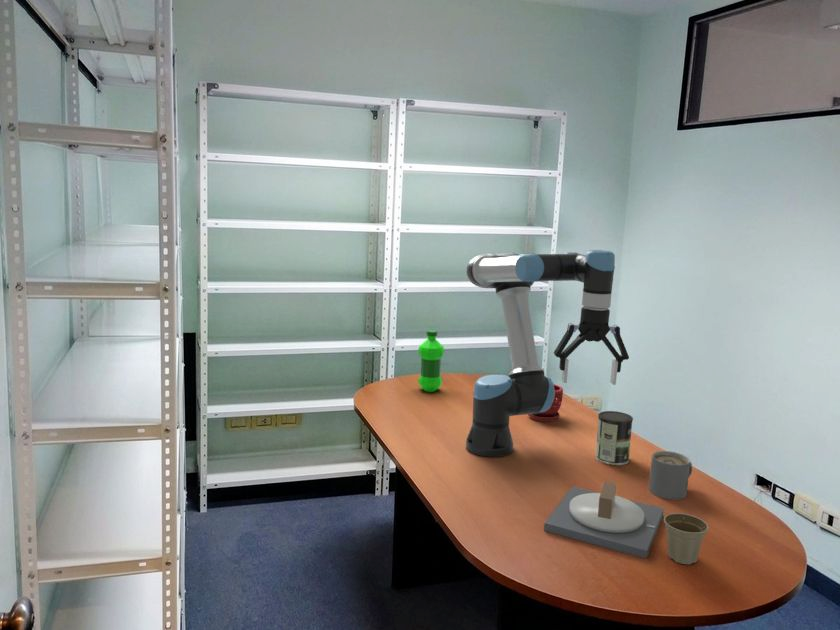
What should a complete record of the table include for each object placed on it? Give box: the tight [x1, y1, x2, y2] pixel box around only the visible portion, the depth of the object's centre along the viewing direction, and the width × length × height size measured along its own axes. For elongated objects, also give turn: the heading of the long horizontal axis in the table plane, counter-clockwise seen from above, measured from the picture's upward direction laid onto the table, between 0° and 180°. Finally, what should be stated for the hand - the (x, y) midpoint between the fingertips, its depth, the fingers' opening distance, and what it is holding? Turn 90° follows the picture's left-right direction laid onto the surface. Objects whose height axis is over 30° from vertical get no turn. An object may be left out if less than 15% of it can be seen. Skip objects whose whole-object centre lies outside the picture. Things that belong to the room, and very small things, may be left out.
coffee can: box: [594, 410, 634, 466], centre depth 204 cm, size 10×10×14 cm
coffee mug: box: [648, 450, 693, 500], centre depth 183 cm, size 13×10×10 cm
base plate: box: [543, 486, 665, 560], centre depth 164 cm, size 24×24×2 cm
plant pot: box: [527, 383, 564, 423], centre depth 241 cm, size 13×13×12 cm
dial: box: [569, 481, 644, 533], centre depth 163 cm, size 18×18×6 cm
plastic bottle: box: [417, 329, 445, 393], centre depth 270 cm, size 10×10×25 cm
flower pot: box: [663, 512, 709, 565], centre depth 149 cm, size 9×9×9 cm
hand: (588, 382), depth 182 cm, fingers open, 13 cm apart
